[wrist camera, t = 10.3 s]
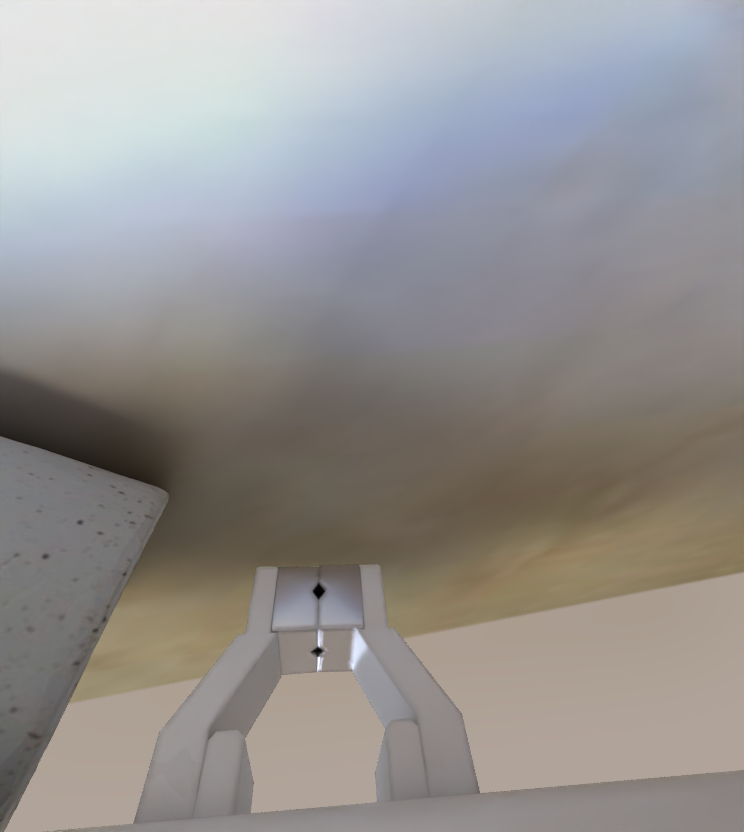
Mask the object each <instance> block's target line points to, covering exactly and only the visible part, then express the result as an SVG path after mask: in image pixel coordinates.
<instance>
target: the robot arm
mask: <svg viewBox="0 0 744 832" xmlns="http://www.w3.org/2000/svg"><path fill="white" fill-rule="evenodd" d="M317 667H318V672H340V671H341V672H343V671H353V674H354V676H355V678H356V679H357V681H358V683H359V685H360V686H361V688H362V690H363V692H364V693H365V695H366V697H367V698H368V700H369V702H370V703H371V705H372V707H373V709H374V711H375V712H376V714H377V716H378V718H379V719H380V721H381V723H382V724H383V726H384V728H385V733H384V737H383V741H382V746H381V750H380V754H379V758H378V762H377V767H376V771H375V778H376V794H377V802H375V803H365V804H353V805H341V806H330V807H320V808H319V807H318V808H307V809H296V810H284V811H273V812H261V813H251V804H252V793H253V784H254V782H253V777H252V772H251V767H250V762H249V757H248V753H247V747H246V742H245V737H246V736H247V734H248V733H249V731H250V729H251V728H252V726H253V724H254V722H255V721H256V719H257V717H258V716H259V714H260V712H261V711H262V709H263V707H264V706H265V704H266V702H267V700H268V699H269V697H270V695H271V694H272V692H273V690H274V689H275V687H276V685H277V684H278V682H279V680H280V679H281V675H287V674H300V673H312V672H317ZM46 832H744V770H740V771H728V772H716V773H705V774H693V775H682V776H671V777H659V778H648V779H637V780H625V781H614V782H603V783H591V784H580V785H568V786H557V787H546V788H535V789H523V790H511V791H500V792H489V793H480V791H479V787H478V782H477V778H476V773H475V769H474V765H473V760H472V756H471V751H470V747H469V743H468V738H467V734H466V730H465V726H464V721H463V717H462V713H461V712H460V711H459V710H458V708H457V707H456V706H455V705H454V703H453V702H452V701H451V699H450V698H449V697H448V696H447V694H446V693H445V692H444V690H443V689H442V688H441V687H440V686H439V684H438V683H437V682H436V680H435V679H434V678H433V676H432V675H431V674H430V673H429V671H428V670H427V669H426V668H425V666H424V665H423V664H422V662H421V661H420V660H419V659H418V658H417V656H416V655H415V653H414V652H413V651H412V650H411V648H410V647H409V646H408V645H407V643H406V642H405V641H404V639H403V638H402V637H401V636H400V634H399V633H398V632H397V631H396V629H395V628H388V621H387V613H386V605H385V597H384V589H383V581H382V573H381V568H380V566H379V564H371V565H358V564H353V565H327V566H319V567H257V570H256V572H255V577H254V583H253V589H252V595H251V601H250V607H249V614H248V620H247V626H246V632H245V634H238V636H237V637H236V638H235V639H234V640H233V642H232V643H231V644H230V645H229V647H228V648H227V649H226V650H225V652H224V653H223V654H222V655H221V657H220V658H219V659H218V660H217V662H216V663H215V664H214V665H213V667H212V668H211V669H210V670H209V671H208V673H207V674H206V675H205V676H204V678H203V679H202V680H201V681H200V683H199V684H198V685H197V686H196V688H195V689H194V690H193V691H192V693H191V694H190V695H189V696H188V698H187V699H186V700H185V701H184V703H183V704H182V705H181V706H180V707H179V709H178V710H177V711H176V712H175V714H174V715H173V716H172V717H171V719H170V720H169V721H168V722H167V724H166V725H165V726H164V727H163V729H162V730H161V731H160V732H159V735H158V738H157V742H156V746H155V749H154V753H153V756H152V760H151V763H150V767H149V771H148V774H147V778H146V781H145V784H144V788H143V792H142V795H141V799H140V802H139V806H138V809H137V813H136V817H135V820H134V823H133V824H125V825H114V826H103V827H91V828H79V829H68V830H57V831H46Z"/></svg>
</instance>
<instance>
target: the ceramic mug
mask: <svg viewBox="0 0 744 832" xmlns="http://www.w3.org/2000/svg"><path fill="white" fill-rule="evenodd" d="M168 500H169V493H168V492H166V491H164V490H163V489H161V488H159V487H156V486H153V485H150V484H147V483H143V482H140V481H137V480H134V479H131V478H128V477H125V476H122V475H119V474H116V473H113V472H110V471H107V470H104V469H101V468H98V467H95V466H92V465H89V464H86V463H83V462H80V461H77V460H74V459H71V458H68V457H65V456H62V455H59V454H56V453H53V452H50V451H47V450H44V449H41V448H37V447H34V446H31V445H27V444H24V443H20V442H17V441H14V440H10V439H7V438H4V437H1V436H0V832H4V830H5V828H6V827H7V825H8V823H9V821H10V819H11V817H12V815H13V813H14V811H15V809H16V808H17V806H18V803H19V801H20V799H21V797H22V795H23V793H24V791H25V790H26V787H27V785H28V784H29V781H30V779H31V778H32V776H33V774H34V772H35V770H36V768H37V766H38V763H39V761H40V759H41V757H42V755H43V753H44V751H45V749H46V747H47V746H48V744H49V742H50V740H51V738H52V736H53V734H54V732H55V730H56V728H57V725H58V723H59V721H60V719H61V717H62V715H63V713H64V711H65V709H66V707H67V705H68V703H69V701H70V699H71V697H72V695H73V693H74V691H75V689H76V686H77V684H78V682H79V680H80V678H81V676H82V674H83V672H84V670H85V668H86V666H87V663H88V661H89V659H90V657H91V655H92V652H93V650H94V648H95V646H96V644H97V642H98V641H99V639H100V637H101V635H102V633H103V631H104V629H105V627H106V624H107V622H108V620H109V618H110V616H111V614H112V612H113V610H114V608H115V606H116V605H117V603H118V601H119V599H120V597H121V594H122V592H123V590H124V588H125V586H126V584H127V582H128V580H129V578H130V576H131V574H132V572H133V570H134V568H135V567H136V565H137V563H138V561H139V558H140V556H141V553H142V551H143V549H144V547H145V545H146V543H147V542H148V540H149V538H150V537H151V535H152V533H153V531H154V529H155V526H156V524H157V522H158V520H159V518H160V516H161V514H162V513H163V511H164V508H165V506H166V505H167V503H168Z"/></svg>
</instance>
